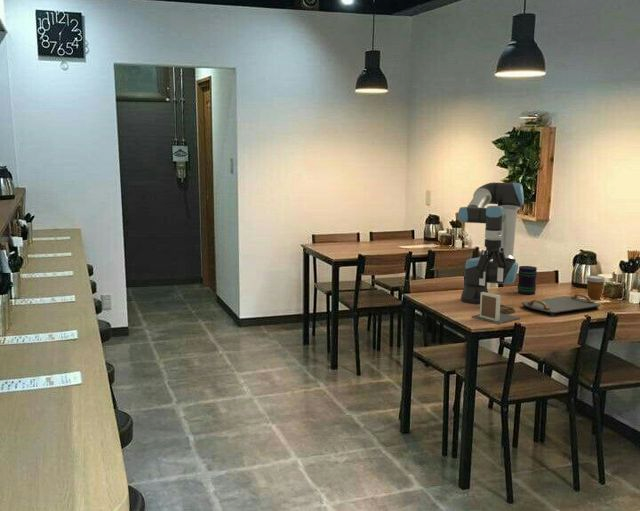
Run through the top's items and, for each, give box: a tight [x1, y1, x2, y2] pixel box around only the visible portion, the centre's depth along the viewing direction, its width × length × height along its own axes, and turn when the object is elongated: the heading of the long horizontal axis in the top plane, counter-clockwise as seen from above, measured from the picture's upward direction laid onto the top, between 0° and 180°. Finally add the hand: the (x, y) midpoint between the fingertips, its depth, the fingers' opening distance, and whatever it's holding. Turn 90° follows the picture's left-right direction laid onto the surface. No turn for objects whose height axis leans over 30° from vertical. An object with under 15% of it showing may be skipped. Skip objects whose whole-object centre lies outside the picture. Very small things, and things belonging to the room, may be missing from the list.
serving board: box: [520, 293, 601, 317], centre depth 322 cm, size 39×23×6 cm, turn 116°
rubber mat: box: [471, 313, 521, 325], centre depth 303 cm, size 16×16×1 cm
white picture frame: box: [479, 292, 502, 321], centre depth 299 cm, size 10×2×12 cm, turn 38°
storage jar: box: [517, 265, 538, 296], centre depth 355 cm, size 10×10×15 cm
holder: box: [500, 304, 516, 315], centre depth 317 cm, size 14×8×3 cm, turn 38°
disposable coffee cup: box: [585, 275, 606, 300], centre depth 344 cm, size 10×10×12 cm
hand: (491, 283), depth 297 cm, fingers open, 13 cm apart
